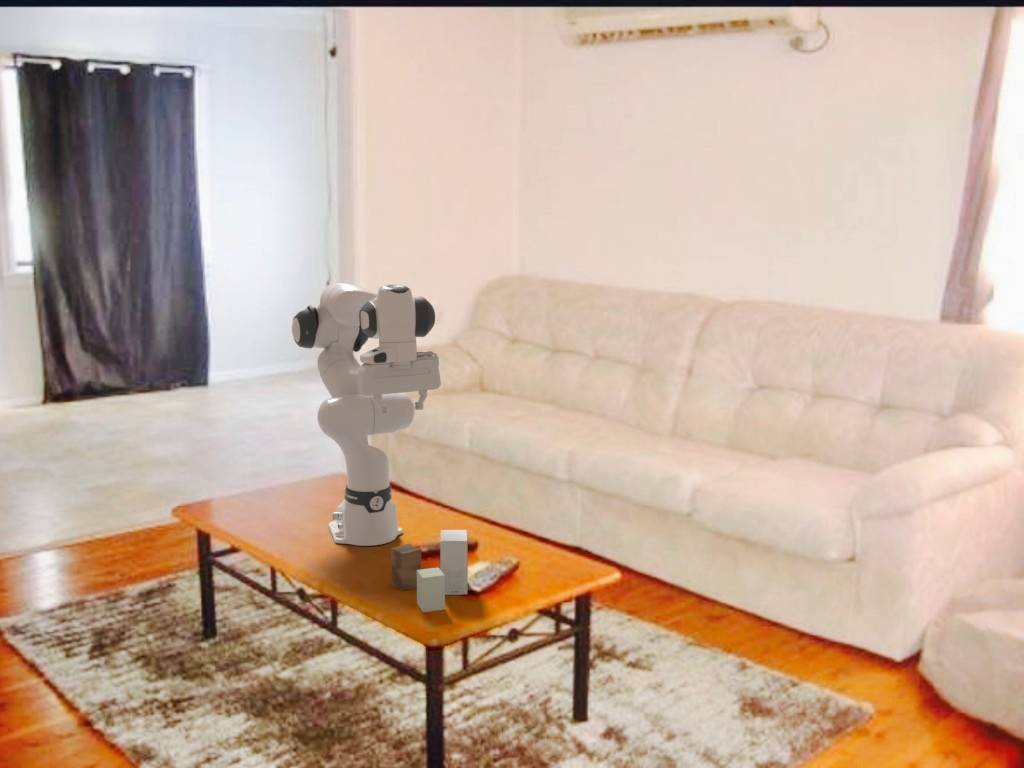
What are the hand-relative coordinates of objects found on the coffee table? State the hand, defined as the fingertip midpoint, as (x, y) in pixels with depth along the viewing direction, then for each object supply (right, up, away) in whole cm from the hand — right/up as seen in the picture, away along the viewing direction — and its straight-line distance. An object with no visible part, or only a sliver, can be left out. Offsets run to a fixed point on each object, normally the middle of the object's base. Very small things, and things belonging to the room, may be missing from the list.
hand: (401, 411), depth 247 cm
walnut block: (+2, -41, -5) cm, 41 cm away
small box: (+13, -41, -6) cm, 44 cm away
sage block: (+8, -43, -17) cm, 47 cm away
